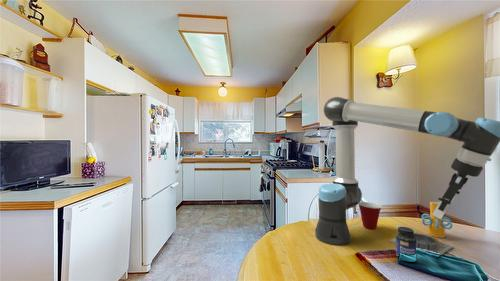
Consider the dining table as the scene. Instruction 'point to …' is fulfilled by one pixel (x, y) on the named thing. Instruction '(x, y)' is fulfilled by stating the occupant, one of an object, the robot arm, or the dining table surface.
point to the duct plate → (442, 246)
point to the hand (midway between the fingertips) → (440, 211)
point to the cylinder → (436, 222)
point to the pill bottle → (405, 241)
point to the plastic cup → (369, 214)
